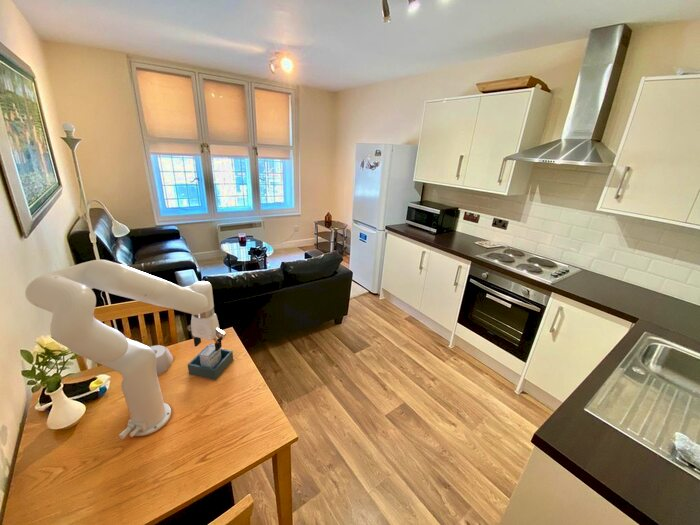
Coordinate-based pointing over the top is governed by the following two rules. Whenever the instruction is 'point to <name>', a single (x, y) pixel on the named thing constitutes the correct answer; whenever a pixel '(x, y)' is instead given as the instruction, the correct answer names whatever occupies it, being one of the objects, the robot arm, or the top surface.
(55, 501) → the top surface
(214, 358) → the medicine box
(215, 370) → the tub
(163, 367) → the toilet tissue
